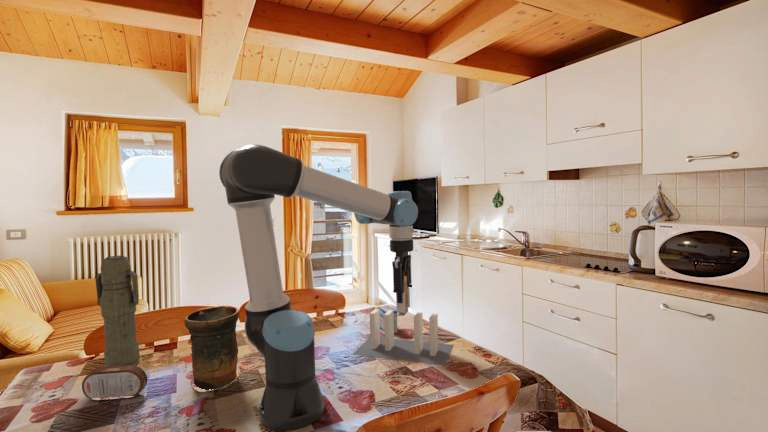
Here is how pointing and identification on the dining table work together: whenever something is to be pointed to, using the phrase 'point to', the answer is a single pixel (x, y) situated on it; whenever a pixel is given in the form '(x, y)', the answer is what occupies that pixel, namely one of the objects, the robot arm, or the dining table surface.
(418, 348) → the domino
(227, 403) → the dining table surface
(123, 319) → the stone statue
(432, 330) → the domino
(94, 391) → the tin
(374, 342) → the domino
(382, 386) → the dining table surface
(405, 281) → the oak domino
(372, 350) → the mat
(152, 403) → the dining table surface
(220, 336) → the vessel
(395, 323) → the medicine box
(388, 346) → the domino
